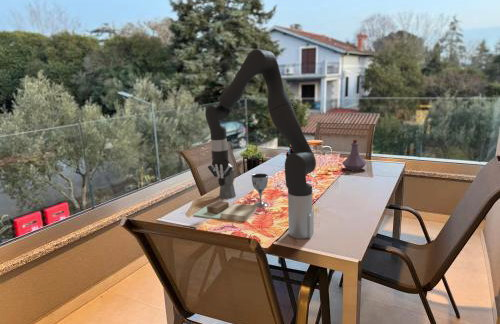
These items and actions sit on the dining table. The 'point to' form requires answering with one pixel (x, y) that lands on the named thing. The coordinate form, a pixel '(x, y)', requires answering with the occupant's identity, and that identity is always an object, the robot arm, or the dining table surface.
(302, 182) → the robot arm
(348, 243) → the dining table surface
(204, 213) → the mat
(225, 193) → the coffeepot
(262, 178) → the wine glass
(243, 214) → the board
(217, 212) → the brown rectangular block
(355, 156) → the flask
